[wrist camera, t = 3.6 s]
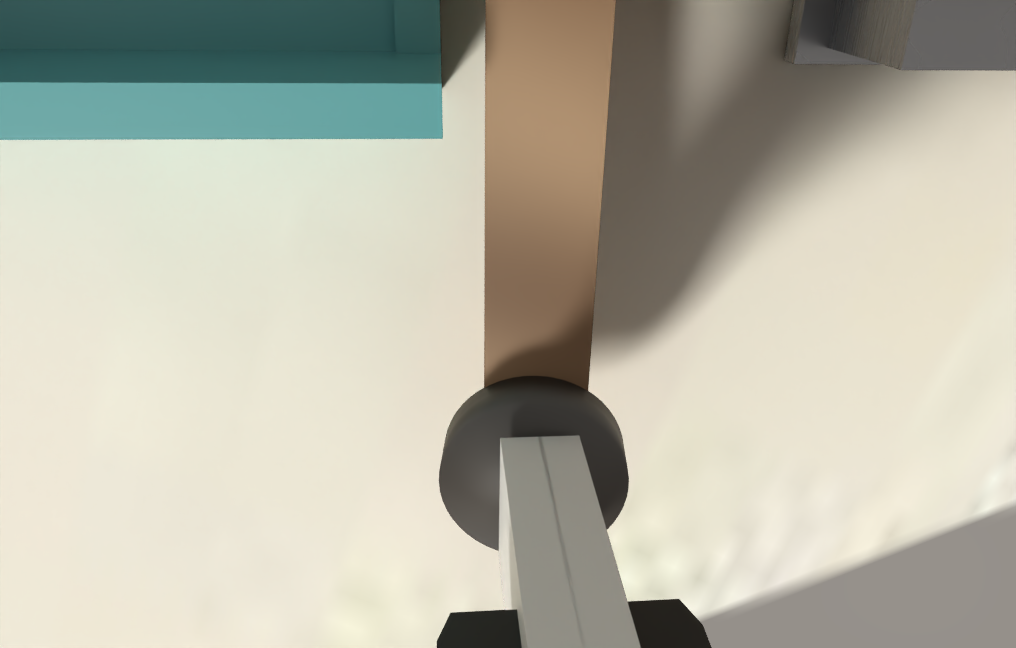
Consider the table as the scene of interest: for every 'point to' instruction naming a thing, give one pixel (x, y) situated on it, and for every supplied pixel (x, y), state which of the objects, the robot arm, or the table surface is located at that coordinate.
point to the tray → (220, 69)
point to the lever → (539, 254)
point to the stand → (905, 33)
